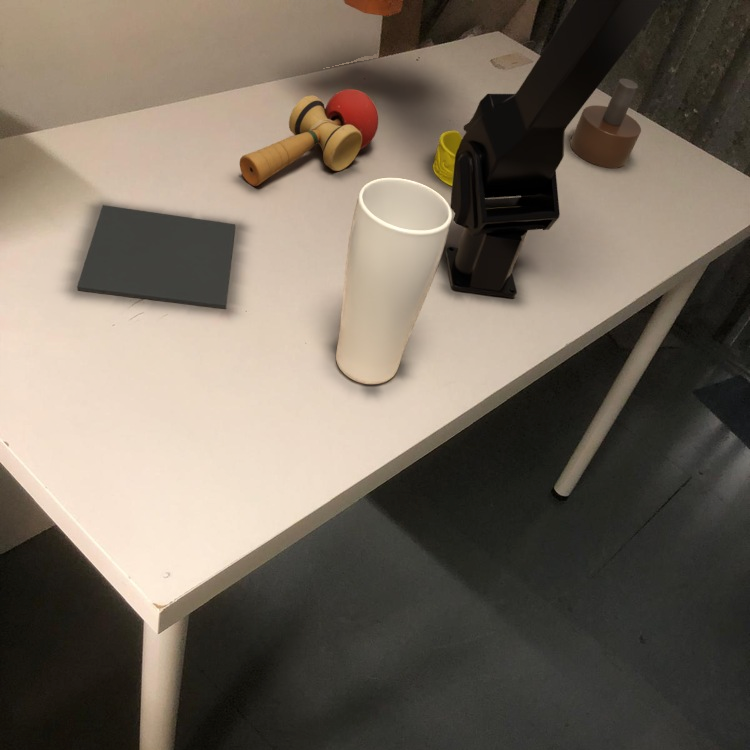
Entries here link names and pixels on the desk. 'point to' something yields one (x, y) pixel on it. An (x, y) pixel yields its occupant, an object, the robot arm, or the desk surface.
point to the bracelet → (446, 156)
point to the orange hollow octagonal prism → (376, 6)
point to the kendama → (318, 134)
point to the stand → (608, 129)
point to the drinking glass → (388, 273)
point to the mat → (159, 257)
